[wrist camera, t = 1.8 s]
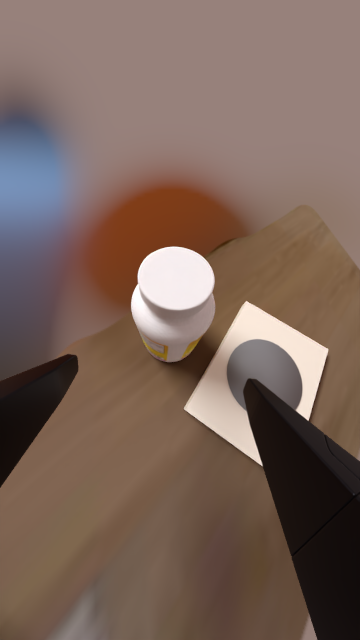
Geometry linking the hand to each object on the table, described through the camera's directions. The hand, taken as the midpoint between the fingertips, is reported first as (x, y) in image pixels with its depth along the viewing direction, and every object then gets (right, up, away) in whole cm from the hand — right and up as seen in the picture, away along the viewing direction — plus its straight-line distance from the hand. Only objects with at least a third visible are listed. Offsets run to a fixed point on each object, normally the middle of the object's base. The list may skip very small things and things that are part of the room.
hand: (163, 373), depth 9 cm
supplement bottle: (0, +1, +13) cm, 13 cm away
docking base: (+11, -4, +12) cm, 17 cm away
